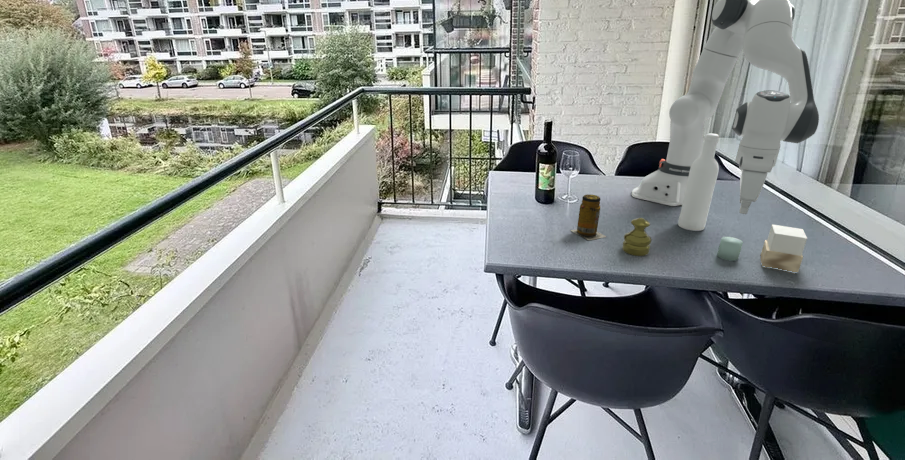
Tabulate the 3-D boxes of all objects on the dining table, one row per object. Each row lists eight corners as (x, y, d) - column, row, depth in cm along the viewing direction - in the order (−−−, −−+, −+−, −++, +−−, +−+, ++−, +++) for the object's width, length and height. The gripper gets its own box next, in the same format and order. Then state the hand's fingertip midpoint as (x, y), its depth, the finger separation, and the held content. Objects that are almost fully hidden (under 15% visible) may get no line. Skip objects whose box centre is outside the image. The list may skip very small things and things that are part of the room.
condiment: (587, 227, 147) (592, 192, 143) (606, 237, 140) (612, 200, 136) (569, 231, 144) (574, 195, 140) (588, 241, 137) (593, 203, 133)
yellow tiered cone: (653, 256, 128) (660, 223, 124) (628, 257, 128) (634, 223, 124) (641, 245, 135) (647, 213, 131) (617, 245, 134) (622, 214, 131)
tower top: (769, 250, 121) (774, 233, 119) (766, 240, 127) (771, 224, 125) (801, 256, 118) (807, 238, 116) (797, 246, 124) (802, 229, 122)
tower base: (761, 267, 123) (766, 250, 121) (760, 256, 130) (765, 239, 128) (797, 274, 120) (803, 257, 118) (794, 262, 126) (799, 246, 124)
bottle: (704, 224, 150) (727, 133, 138) (704, 233, 144) (727, 138, 132) (678, 220, 154) (698, 130, 142) (676, 228, 147) (697, 135, 136)
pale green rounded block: (716, 258, 128) (721, 241, 126) (717, 251, 132) (721, 235, 130) (738, 262, 125) (742, 246, 123) (738, 255, 129) (742, 239, 127)
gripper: (742, 148, 127) (730, 195, 132) (742, 164, 111) (728, 217, 116) (768, 150, 124) (755, 199, 130) (773, 167, 108) (757, 221, 113)
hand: (742, 207), depth 123 cm, fingers open, 8 cm apart
